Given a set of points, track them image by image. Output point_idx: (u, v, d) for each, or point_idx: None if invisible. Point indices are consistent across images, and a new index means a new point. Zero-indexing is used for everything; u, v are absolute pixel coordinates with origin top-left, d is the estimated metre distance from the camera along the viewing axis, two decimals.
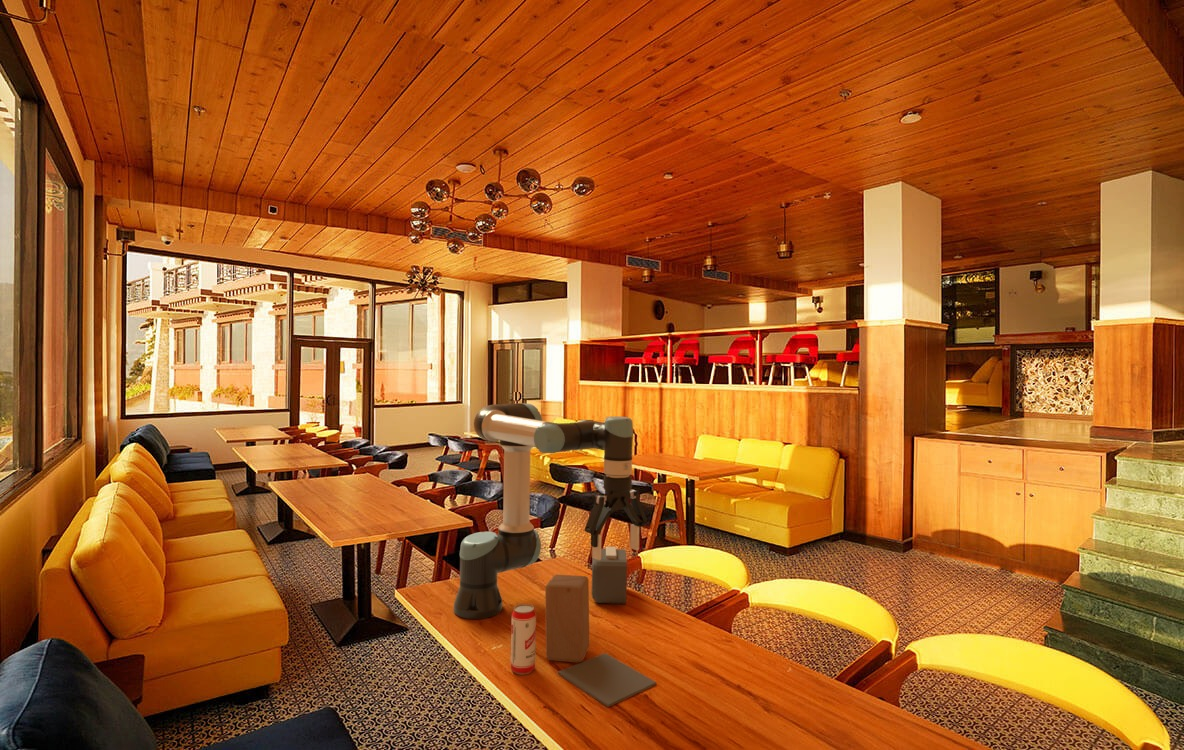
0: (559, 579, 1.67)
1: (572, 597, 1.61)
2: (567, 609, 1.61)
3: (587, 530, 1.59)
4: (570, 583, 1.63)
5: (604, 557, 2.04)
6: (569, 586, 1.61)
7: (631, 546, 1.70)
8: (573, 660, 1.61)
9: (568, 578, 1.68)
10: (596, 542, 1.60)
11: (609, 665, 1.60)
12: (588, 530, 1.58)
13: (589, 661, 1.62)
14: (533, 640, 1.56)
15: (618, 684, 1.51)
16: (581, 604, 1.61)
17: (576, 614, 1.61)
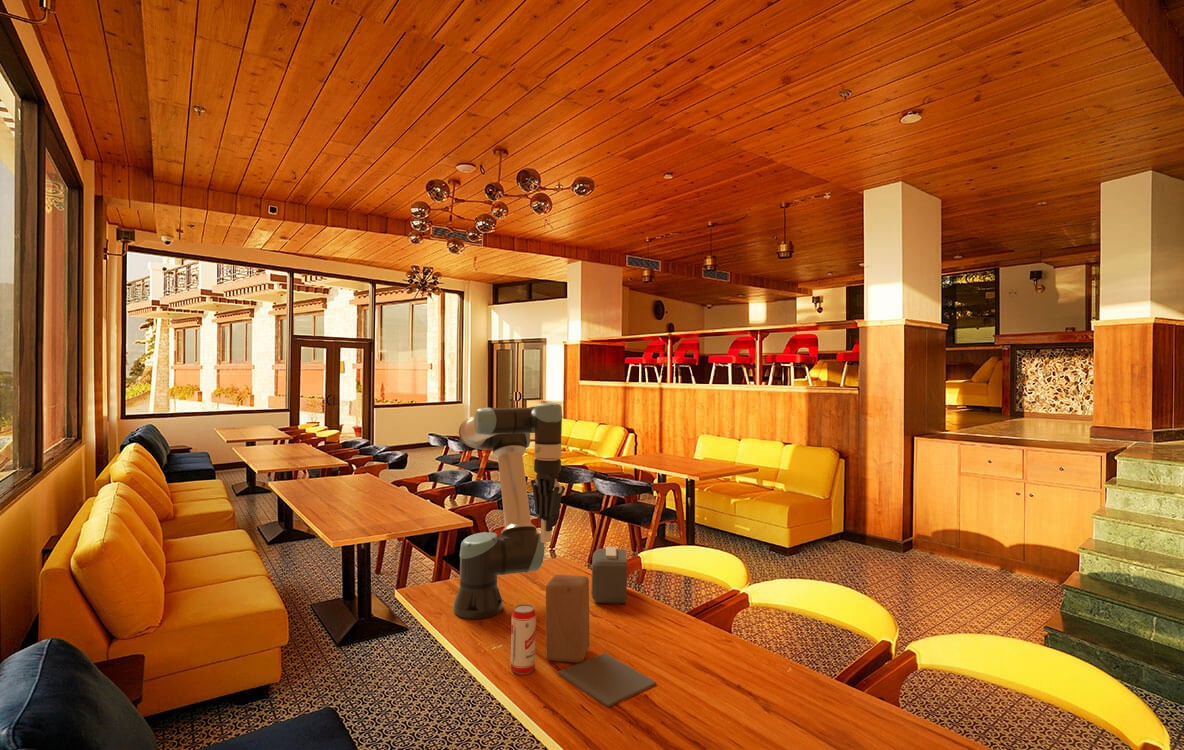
0: (560, 579, 1.67)
1: (572, 597, 1.61)
2: (567, 609, 1.61)
3: None
4: (570, 583, 1.63)
5: (604, 557, 2.04)
6: (570, 586, 1.61)
7: None
8: (573, 660, 1.61)
9: (568, 578, 1.68)
10: None
11: (609, 665, 1.60)
12: None
13: (589, 661, 1.62)
14: (533, 640, 1.56)
15: (618, 684, 1.51)
16: (581, 604, 1.61)
17: (576, 614, 1.61)
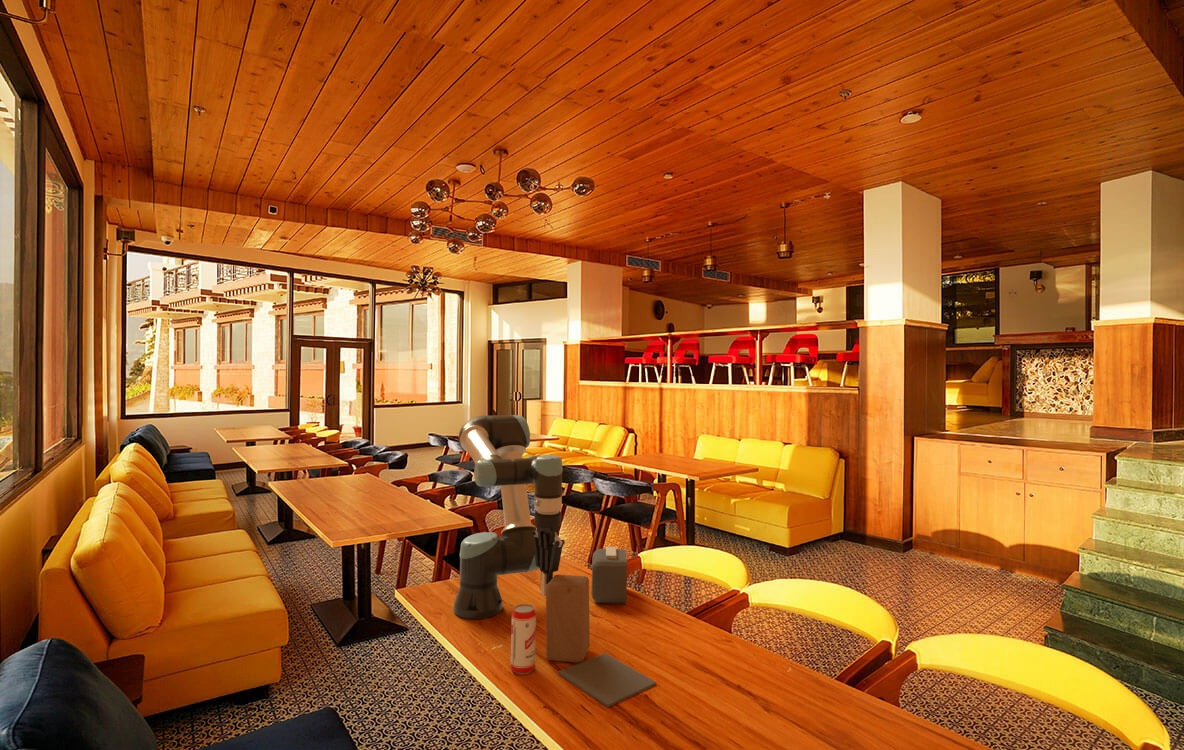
0: (560, 579, 1.67)
1: (573, 597, 1.61)
2: (567, 609, 1.61)
3: None
4: (571, 583, 1.63)
5: (604, 557, 2.04)
6: (570, 586, 1.61)
7: None
8: (573, 660, 1.61)
9: (569, 578, 1.68)
10: None
11: (609, 665, 1.60)
12: None
13: (589, 661, 1.62)
14: (533, 640, 1.56)
15: (618, 684, 1.51)
16: (581, 604, 1.61)
17: (576, 614, 1.61)
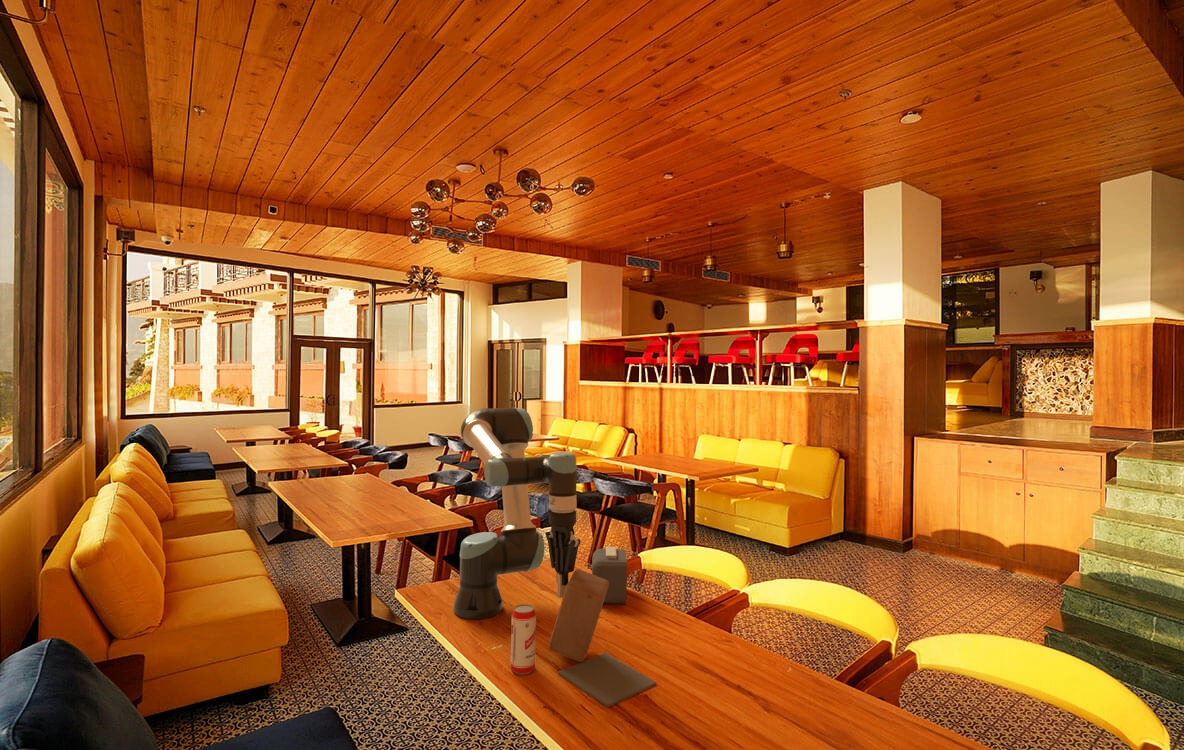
0: (581, 578, 1.62)
1: (591, 603, 1.57)
2: (582, 613, 1.58)
3: None
4: (592, 588, 1.59)
5: (604, 557, 2.04)
6: (591, 593, 1.57)
7: None
8: (574, 658, 1.61)
9: (590, 579, 1.63)
10: None
11: (609, 665, 1.60)
12: None
13: (589, 661, 1.62)
14: (533, 640, 1.56)
15: (618, 684, 1.51)
16: (598, 612, 1.58)
17: (590, 620, 1.58)
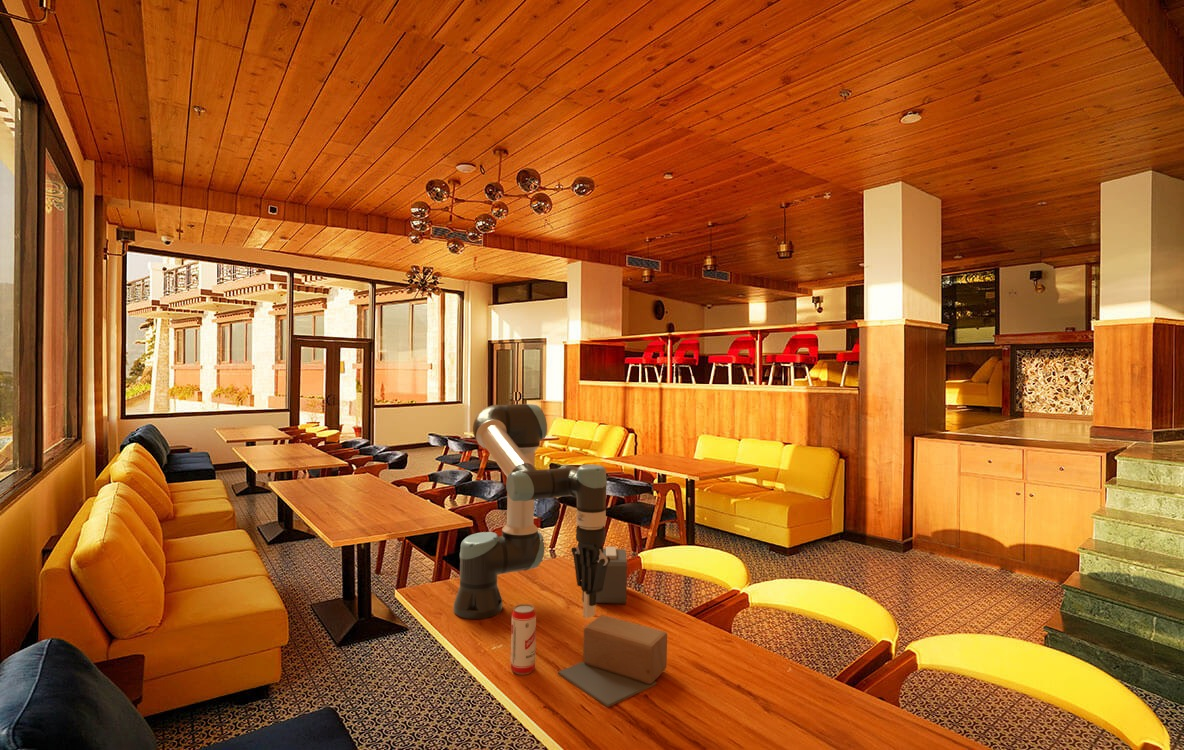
0: (660, 649, 1.54)
1: (641, 674, 1.51)
2: (629, 664, 1.53)
3: None
4: (655, 668, 1.52)
5: None
6: (651, 672, 1.51)
7: None
8: (584, 655, 1.60)
9: (662, 655, 1.56)
10: None
11: None
12: None
13: None
14: (533, 640, 1.56)
15: (618, 684, 1.51)
16: (635, 679, 1.53)
17: (625, 672, 1.54)
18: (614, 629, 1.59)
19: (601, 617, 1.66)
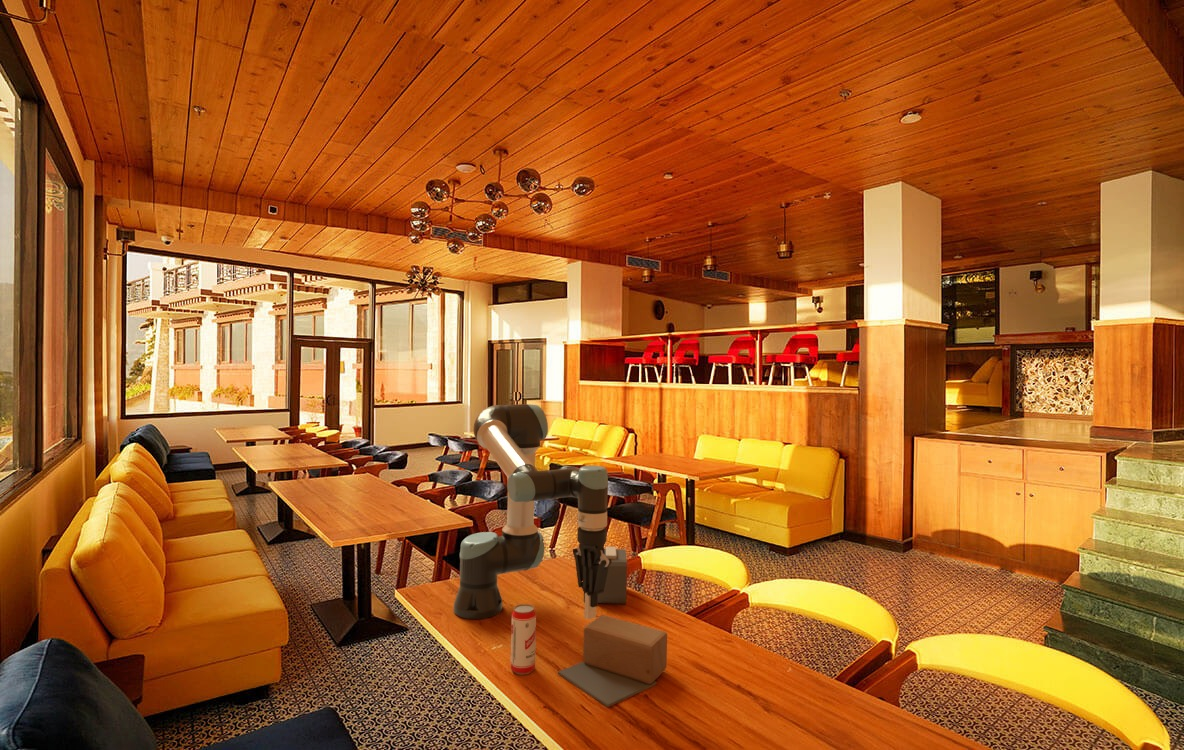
0: (660, 649, 1.54)
1: (641, 674, 1.51)
2: (629, 664, 1.53)
3: None
4: (655, 668, 1.52)
5: None
6: (651, 672, 1.51)
7: None
8: (584, 655, 1.60)
9: (662, 655, 1.56)
10: None
11: None
12: None
13: None
14: (533, 640, 1.56)
15: (618, 684, 1.51)
16: (635, 679, 1.53)
17: (625, 672, 1.54)
18: (614, 629, 1.59)
19: (601, 617, 1.66)
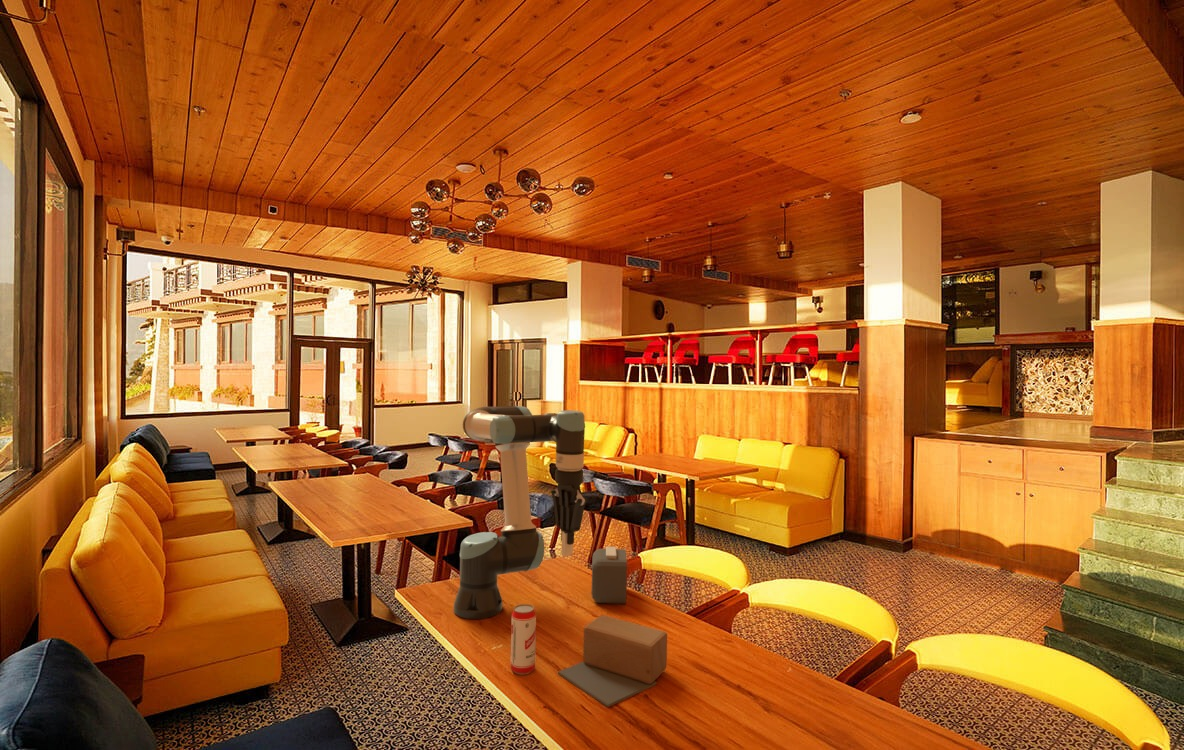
0: (660, 649, 1.54)
1: (641, 674, 1.51)
2: (629, 664, 1.53)
3: None
4: (655, 668, 1.52)
5: (604, 557, 2.04)
6: (651, 672, 1.51)
7: None
8: (584, 655, 1.60)
9: (662, 655, 1.56)
10: None
11: None
12: None
13: None
14: (533, 640, 1.56)
15: (618, 684, 1.51)
16: (635, 679, 1.53)
17: (625, 672, 1.54)
18: (614, 629, 1.59)
19: (601, 617, 1.66)
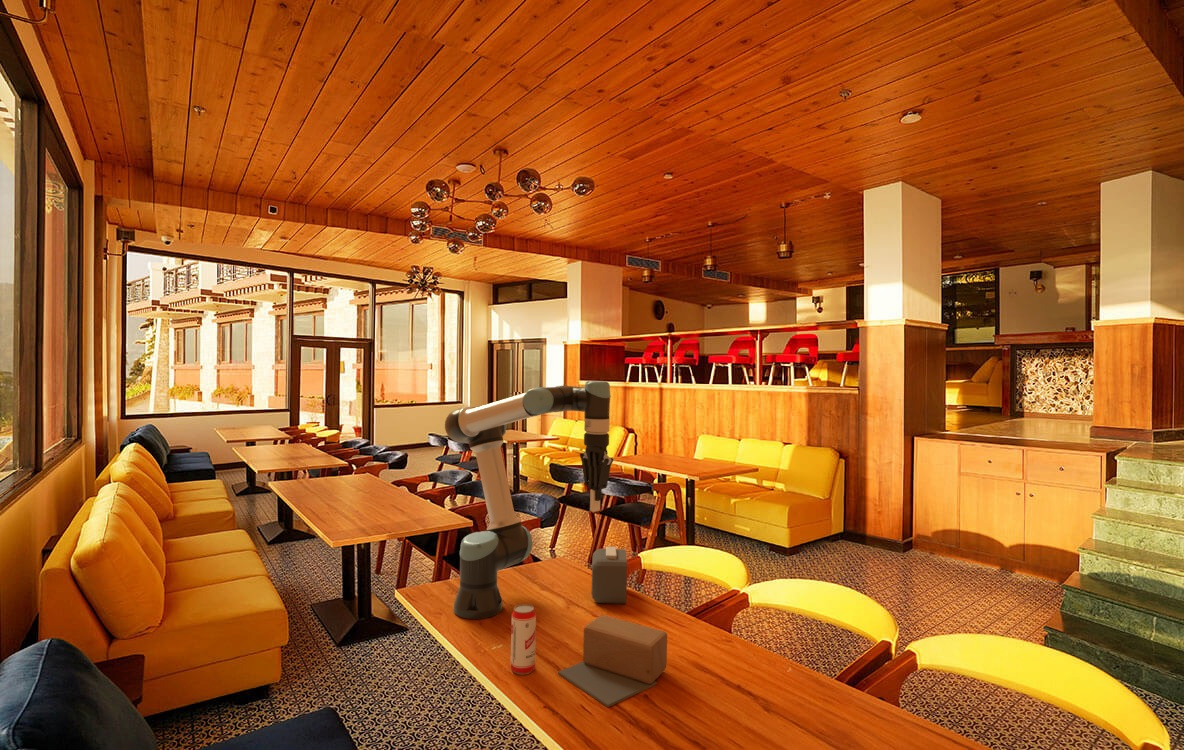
0: (660, 649, 1.54)
1: (641, 674, 1.51)
2: (629, 664, 1.53)
3: None
4: (655, 668, 1.52)
5: (604, 557, 2.04)
6: (651, 672, 1.51)
7: None
8: (584, 655, 1.60)
9: (662, 655, 1.56)
10: None
11: None
12: None
13: None
14: (533, 640, 1.56)
15: (618, 684, 1.51)
16: (635, 679, 1.53)
17: (625, 672, 1.54)
18: (614, 629, 1.59)
19: (601, 617, 1.66)
